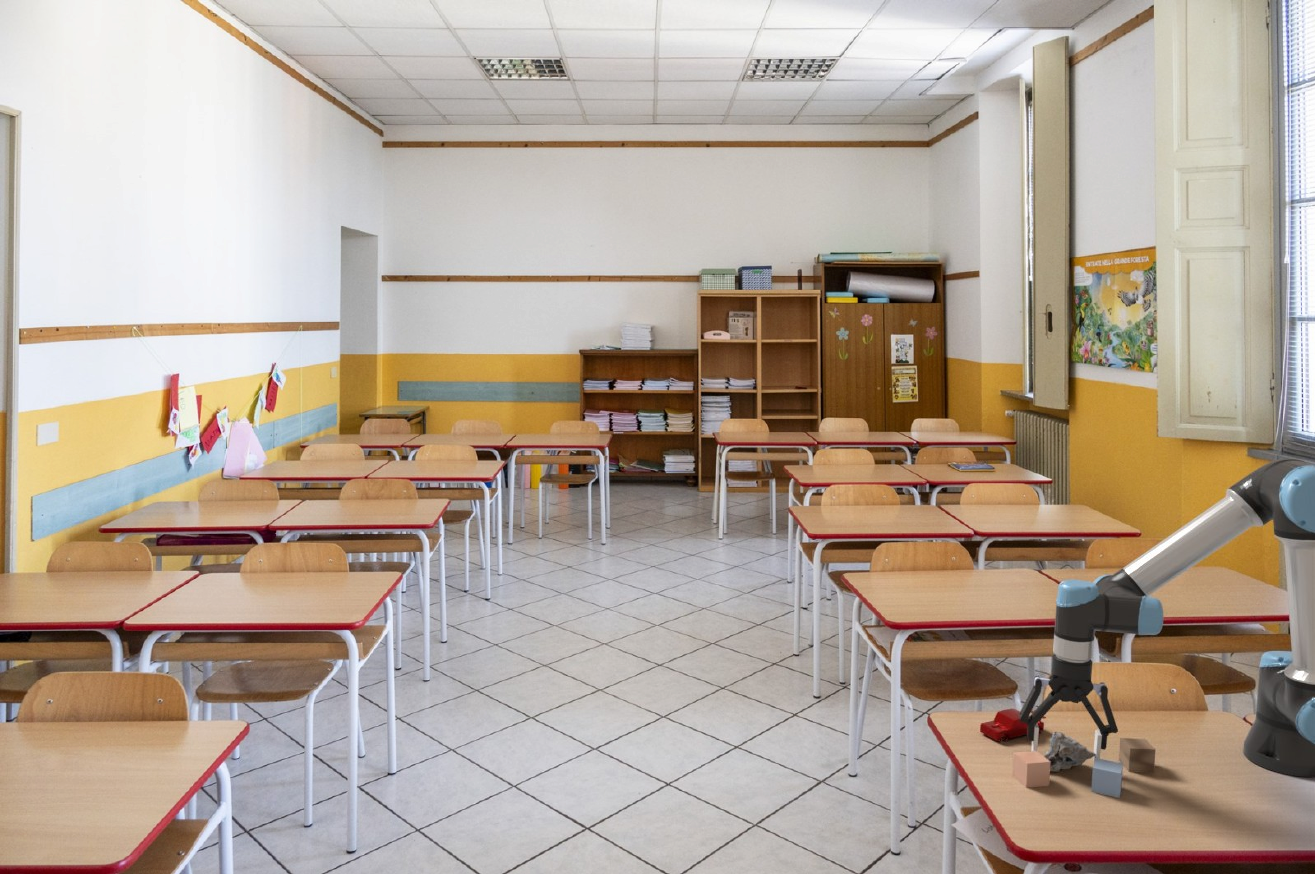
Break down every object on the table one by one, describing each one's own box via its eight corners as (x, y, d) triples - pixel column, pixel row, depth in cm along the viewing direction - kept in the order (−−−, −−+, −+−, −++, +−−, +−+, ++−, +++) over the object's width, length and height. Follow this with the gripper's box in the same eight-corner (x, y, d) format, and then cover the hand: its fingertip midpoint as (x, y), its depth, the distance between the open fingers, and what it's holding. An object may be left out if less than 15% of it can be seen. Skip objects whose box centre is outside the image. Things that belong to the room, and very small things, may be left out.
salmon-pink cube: (1034, 774, 196) (1036, 750, 195) (1049, 785, 191) (1050, 761, 191) (1012, 776, 195) (1013, 752, 195) (1026, 787, 190) (1027, 763, 190)
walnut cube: (1143, 761, 202) (1145, 738, 202) (1153, 772, 197) (1155, 749, 197) (1118, 760, 203) (1120, 737, 202) (1128, 771, 198) (1130, 748, 197)
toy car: (1026, 725, 221) (1027, 704, 220) (1045, 734, 216) (1046, 713, 215) (979, 735, 215) (980, 714, 215) (997, 745, 210) (998, 723, 210)
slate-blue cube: (1121, 787, 191) (1122, 763, 190) (1119, 798, 186) (1121, 773, 186) (1093, 781, 193) (1095, 757, 193) (1091, 791, 189) (1092, 767, 188)
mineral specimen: (1051, 784, 202) (1075, 793, 192) (1021, 757, 203) (1044, 765, 193) (1079, 748, 204) (1104, 755, 194) (1049, 721, 204) (1073, 727, 195)
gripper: (1131, 656, 197) (1123, 758, 200) (1009, 644, 203) (1002, 744, 206) (1140, 669, 190) (1131, 774, 193) (1013, 656, 196) (1005, 759, 199)
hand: (1064, 759), depth 199 cm, fingers closed on mineral specimen, 11 cm apart
